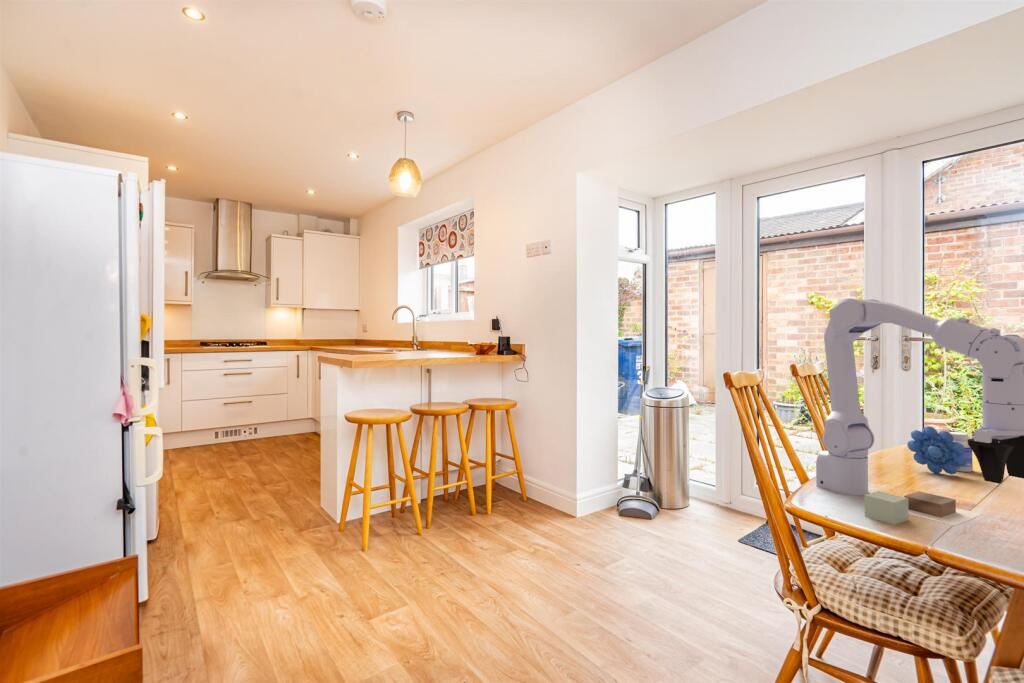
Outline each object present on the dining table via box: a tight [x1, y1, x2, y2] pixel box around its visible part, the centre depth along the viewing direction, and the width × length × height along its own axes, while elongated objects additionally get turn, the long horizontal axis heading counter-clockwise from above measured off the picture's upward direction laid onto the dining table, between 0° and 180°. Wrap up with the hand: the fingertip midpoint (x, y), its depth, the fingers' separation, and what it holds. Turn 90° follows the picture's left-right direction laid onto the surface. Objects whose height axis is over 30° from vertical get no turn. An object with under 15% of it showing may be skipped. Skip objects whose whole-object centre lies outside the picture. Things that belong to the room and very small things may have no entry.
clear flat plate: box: [908, 507, 983, 527], centre depth 97 cm, size 12×12×1 cm
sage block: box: [864, 490, 909, 526], centre depth 93 cm, size 5×5×5 cm
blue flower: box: [906, 425, 967, 475], centre depth 125 cm, size 12×7×12 cm, turn 43°
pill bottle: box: [948, 431, 974, 473], centre depth 129 cm, size 5×5×10 cm
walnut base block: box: [903, 491, 957, 518], centre depth 97 cm, size 6×6×2 cm
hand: (1005, 479), depth 86 cm, fingers open, 7 cm apart
